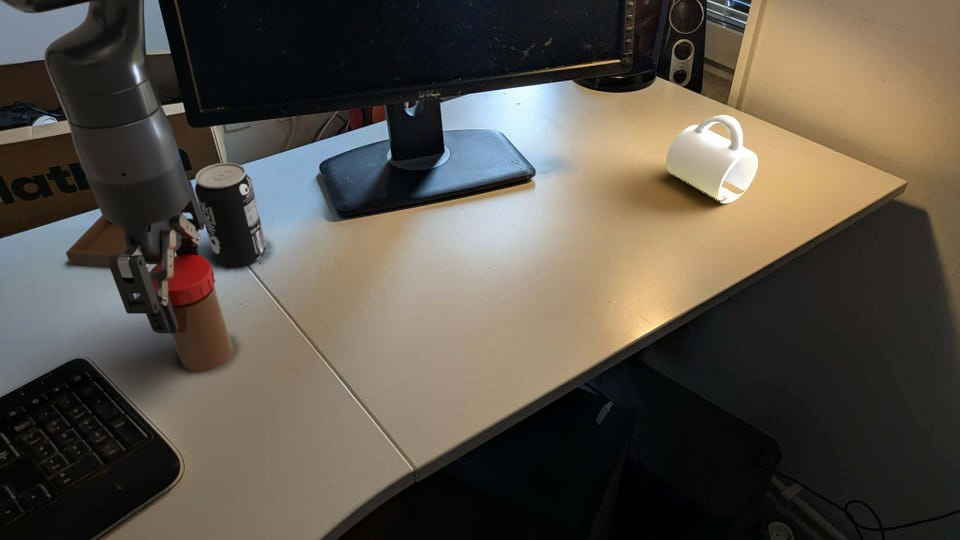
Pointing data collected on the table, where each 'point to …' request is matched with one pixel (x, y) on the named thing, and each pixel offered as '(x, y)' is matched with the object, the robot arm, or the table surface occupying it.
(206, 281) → the jar lid
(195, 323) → the jar
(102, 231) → the tray
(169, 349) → the table surface
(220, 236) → the beverage can
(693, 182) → the mug
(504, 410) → the table surface
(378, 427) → the table surface
